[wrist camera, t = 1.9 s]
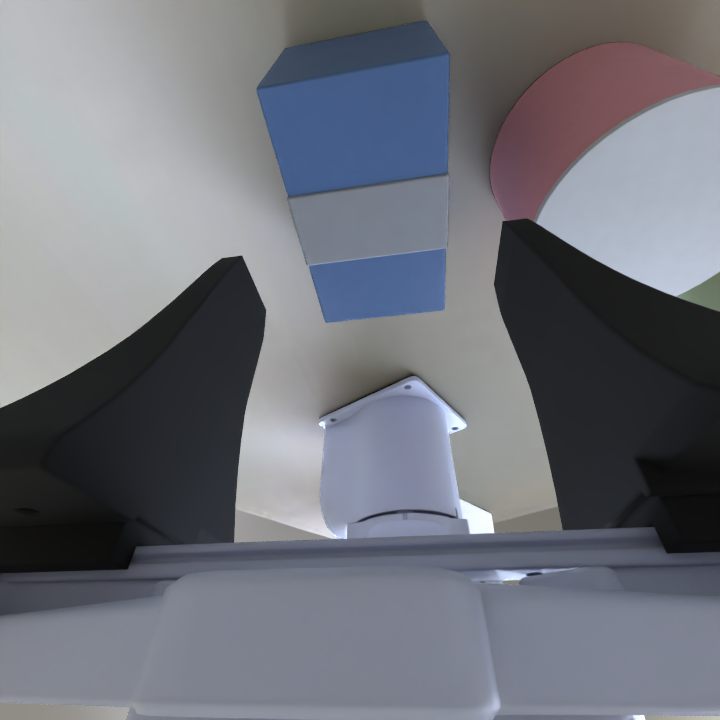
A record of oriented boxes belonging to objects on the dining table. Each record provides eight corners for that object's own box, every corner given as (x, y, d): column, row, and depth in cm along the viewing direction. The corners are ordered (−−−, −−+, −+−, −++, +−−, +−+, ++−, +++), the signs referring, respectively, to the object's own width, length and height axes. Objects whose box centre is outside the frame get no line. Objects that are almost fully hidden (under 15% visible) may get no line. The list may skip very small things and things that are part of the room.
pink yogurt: (523, 256, 20) (566, 342, 15) (457, 135, 15) (491, 208, 11) (690, 165, 16) (802, 244, 12) (663, -23, 12) (820, 0, 8)
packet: (431, 241, 19) (446, 311, 15) (331, 254, 20) (324, 324, 16) (428, 19, 13) (452, 51, 9) (282, 48, 13) (252, 88, 10)
